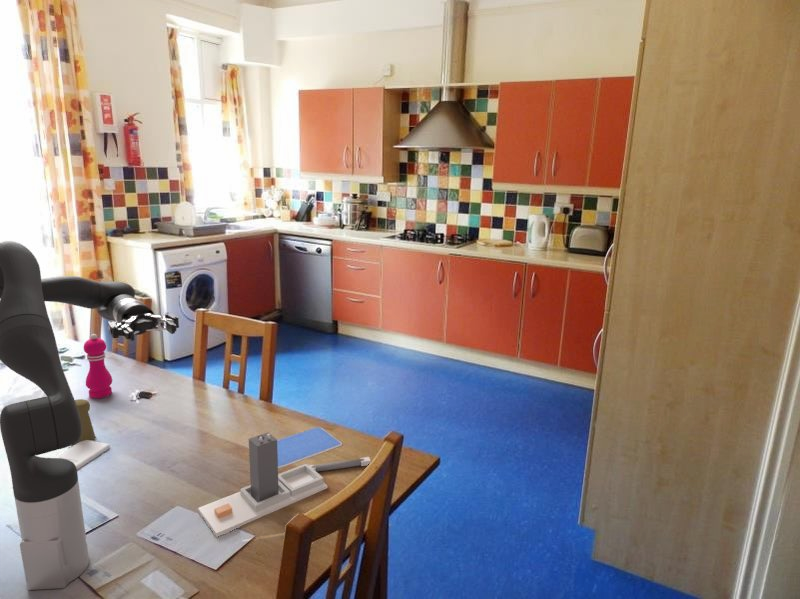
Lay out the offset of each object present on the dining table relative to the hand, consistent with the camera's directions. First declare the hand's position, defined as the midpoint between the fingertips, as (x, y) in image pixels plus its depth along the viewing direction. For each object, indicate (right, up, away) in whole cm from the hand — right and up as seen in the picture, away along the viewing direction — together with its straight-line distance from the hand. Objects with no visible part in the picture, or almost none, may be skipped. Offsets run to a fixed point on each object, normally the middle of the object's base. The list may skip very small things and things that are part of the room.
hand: (153, 332), depth 116 cm
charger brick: (+25, -36, 0) cm, 44 cm away
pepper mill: (-39, -23, +48) cm, 66 cm away
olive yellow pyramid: (-29, -30, +22) cm, 47 cm away
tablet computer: (+28, -32, +22) cm, 48 cm away
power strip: (+25, -37, 0) cm, 45 cm away
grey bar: (+40, -34, +12) cm, 54 cm away
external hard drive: (-25, -32, +14) cm, 43 cm away
